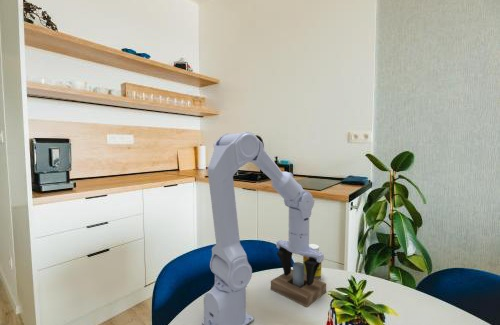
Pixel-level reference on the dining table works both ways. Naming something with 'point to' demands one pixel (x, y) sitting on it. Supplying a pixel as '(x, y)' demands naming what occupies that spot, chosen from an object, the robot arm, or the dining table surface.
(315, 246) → the supplement bottle
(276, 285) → the socket block
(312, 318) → the dining table surface
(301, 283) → the dowel
